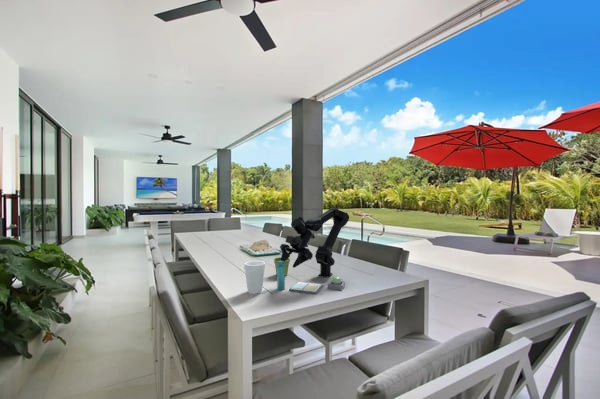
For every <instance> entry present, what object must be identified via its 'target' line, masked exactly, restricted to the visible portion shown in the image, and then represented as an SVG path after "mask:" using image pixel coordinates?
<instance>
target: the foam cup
mask: <svg viewBox="0 0 600 399" xmlns="http://www.w3.org/2000/svg"><path fill="white" fill-rule="evenodd" d="M243 265H244V266H243V268H244V272H245V281H246V288H247V293H248V292H249V293H248V294H250V293H253V294H252V295H257V293H258V294H261V293H262V292H263V285H264V278H265V270H266V262H265V261H263V260H262V261H261V260H251V261H247V262H244V264H243Z"/></svg>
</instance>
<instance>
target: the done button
mask: <svg viewBox="0 0 600 399" xmlns="http://www.w3.org/2000/svg"><path fill="white" fill-rule="evenodd" d="M331 280H332V284H338V285H341V281H342V277H341V276H331Z"/></svg>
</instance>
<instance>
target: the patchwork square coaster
mask: <svg viewBox="0 0 600 399" xmlns="http://www.w3.org/2000/svg"><path fill="white" fill-rule="evenodd" d="M323 287H324V284H323V283H313V282H304V281H296V283H294V284H293V285H292V286H291V287H290V288H289V290H288V291H289V292H294V293H295V292H296V293H305V294H311V295H312V294H313V295H317V294H318V293H319V292H320V290H321V289H322V288H323Z"/></svg>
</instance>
